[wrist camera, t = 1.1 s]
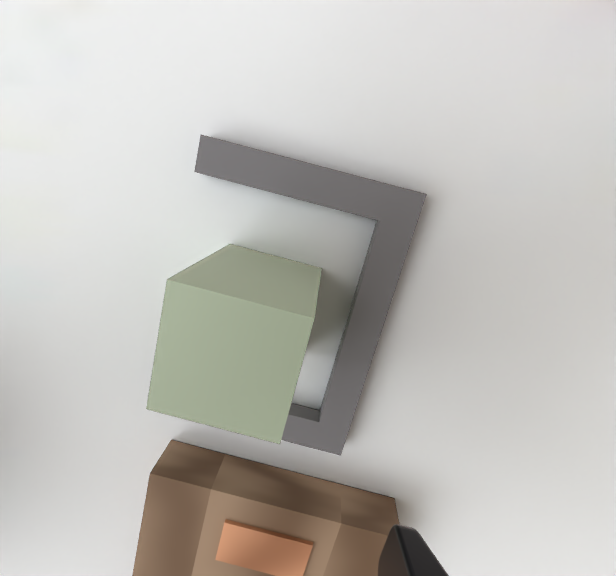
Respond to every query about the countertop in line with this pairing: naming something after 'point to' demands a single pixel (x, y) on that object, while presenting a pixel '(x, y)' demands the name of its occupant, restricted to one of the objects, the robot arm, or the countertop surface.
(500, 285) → the countertop surface
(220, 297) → the pale green block
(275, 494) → the socket holder
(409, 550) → the robot arm
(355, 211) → the bracket
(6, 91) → the countertop surface
